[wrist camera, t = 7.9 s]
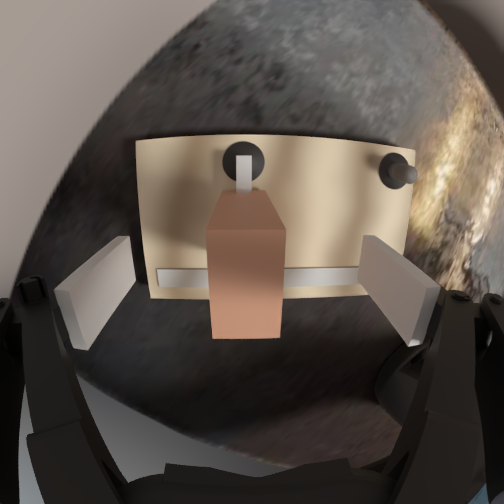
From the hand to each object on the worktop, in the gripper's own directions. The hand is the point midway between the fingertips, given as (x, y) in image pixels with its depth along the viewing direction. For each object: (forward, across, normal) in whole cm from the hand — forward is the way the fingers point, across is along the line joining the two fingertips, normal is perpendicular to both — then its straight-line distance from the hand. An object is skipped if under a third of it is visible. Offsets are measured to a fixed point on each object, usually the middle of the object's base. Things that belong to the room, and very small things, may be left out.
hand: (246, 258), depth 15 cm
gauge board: (+8, -3, 0) cm, 9 cm away
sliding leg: (+6, 0, -2) cm, 6 cm away
